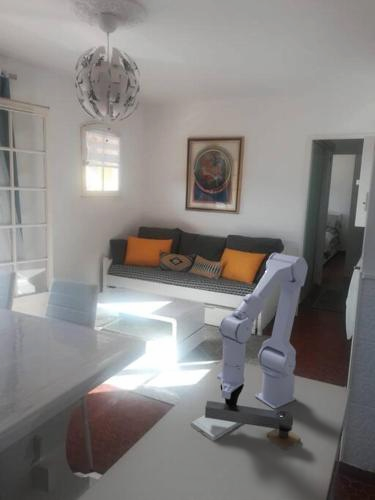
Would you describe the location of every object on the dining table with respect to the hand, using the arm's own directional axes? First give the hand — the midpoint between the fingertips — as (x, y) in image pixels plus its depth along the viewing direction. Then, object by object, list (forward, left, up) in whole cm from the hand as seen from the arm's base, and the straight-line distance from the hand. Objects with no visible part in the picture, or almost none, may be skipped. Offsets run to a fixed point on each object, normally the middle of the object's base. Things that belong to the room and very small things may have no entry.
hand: (230, 409), depth 101 cm
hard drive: (+2, -2, -5) cm, 6 cm away
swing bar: (-1, +5, -1) cm, 5 cm away
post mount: (-7, +12, -4) cm, 15 cm away
